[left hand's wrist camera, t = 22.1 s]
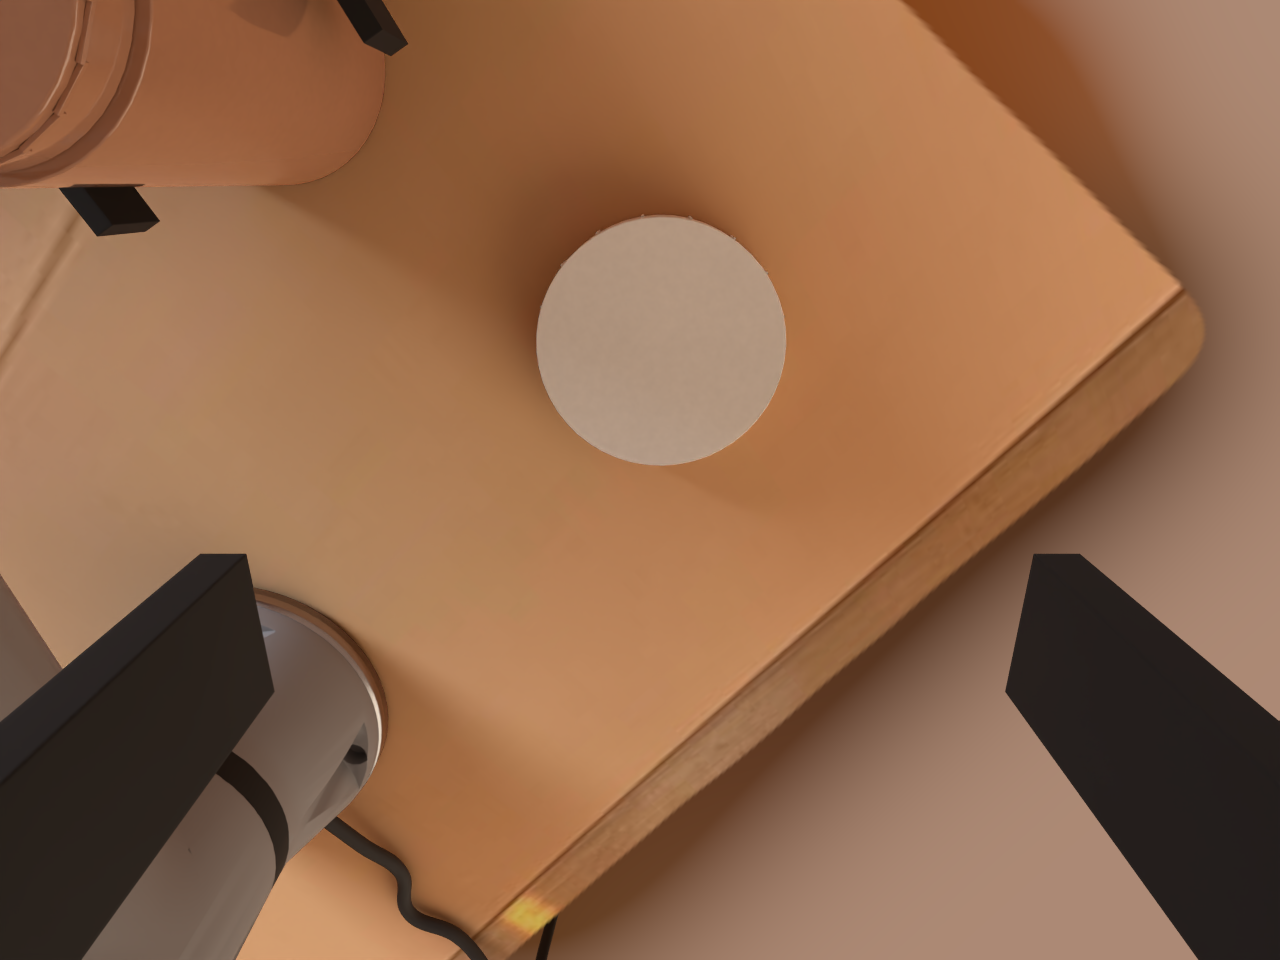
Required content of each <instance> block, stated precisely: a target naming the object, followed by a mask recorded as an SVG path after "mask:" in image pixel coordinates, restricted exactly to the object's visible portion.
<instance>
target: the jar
mask: <svg viewBox="0 0 1280 960" xmlns="http://www.w3.org/2000/svg"><path fill="white" fill-rule="evenodd" d="M384 85H385V57H384V53H383V52H381V51H379V50H377V49H375V48H373V47H371V46H369V45H366V44H364V43H363V41H362V40H361V38H360V36H359V35H358V33H357V32H356V30H355V28H354V27H353V25H352V24H351V22H350V20H349V19H348V17H347V16H346V14H345V12H344V11H343V9H342V8H341V6H340V4H339V3H338V1H337V0H0V188H81V187H167V186H254V185H297V184H302V183H307V182H312V181H314V180H317V179H320V178H323V177H325V176H327V175H329V174H331V173H333V172H335V171H336V170H338V169H339V168H340V167H342V166H343V165H344V164H346V163H347V162H348V161H349V160H350V159H351V158H352V157H353V156H354V155H355V154H356V153H357V152H358V151H359V150H360V148H361V147H362V146H363V144H364V143H365V142H366V140H367V139H368V137H369V135H370V133H371V131H372V129H373V127H374V125H375V123H376V120H377V117H378V114H379V112H380V108H381V104H382V99H383V95H384Z"/></svg>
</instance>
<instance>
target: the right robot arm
mask: <svg viewBox="0 0 1280 960" xmlns="http://www.w3.org/2000/svg"><path fill="white" fill-rule="evenodd" d="M337 1H338V3H339V4H340V6H341V8H342V9H343V11H344V12H345V14H346V16H347V17H348V19H349V20H350V22H351V24H352V25H353V27H354V28H355V30H356V32H357V33H358V35H359V36H360V38H361V40H362V41H363V43H364V44H366V45H369V46H371V47H373V48H375V49H377V50H379V51H381V52H383V53H385V54H387V55H390V56H392V55H393V54H395V53H396V52H397V51H399V50H400V49H402V48H403V47H404V46H406V45H407V44H408V43H407V41H406V39H405V38H404V36H403V34H402V33H401V31H400V30H399V28H398V26H397V25H396V23H395V21H394V20H393V18H392V16H391V15H390V13H389V11H388V10H387V8H386V6H385V5H384V3H383V2H382V0H337ZM59 189H60V190H61V192H62V193H63V194H64V195H65V197H66V198H67V199H68V200H69V202H70V203H71V204H72V205H73V207H74V208H75V209H76V210H77V212H78V213H79V214H80V215H81V217H82V218H83V219H84V220H85V222H86V223H87V224H88V225H89V227H90V228H91V229H92V231H93V232H94V233H95V234H96V236H106V235H116V234H126V233H136V232H145V231H147V230H148V229H150V228H151V227H152V226H154V225H155V224H157V223H158V222H159V221H160V220H159V219H158V218H157V217H156V215H155V214H154V213H153V211H152V210H151V209H150V207H149V206H148V205H147V203H146V202H145V201H144V200H143V198H142V197H141V196H140V194H139V193H138V192H137V190H136V189H135V188H134V187H81V188H59Z"/></svg>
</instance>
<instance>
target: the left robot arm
mask: <svg viewBox="0 0 1280 960" xmlns="http://www.w3.org/2000/svg"><path fill="white" fill-rule="evenodd" d="M1005 692H1006V693H1007V695H1008V696H1009V698H1010V699H1011V700H1012V702H1013V703H1014V704H1015V706H1016V707H1017V709H1018V710H1019V711H1020V713H1021V714H1022V716H1023V717H1024V718H1025V720H1026V721H1027V722H1028V724H1029V725H1030V727H1031V728H1032V729H1033V731H1034V732H1035V734H1036V735H1037V736H1038V738H1039V739H1040V740H1041V742H1042V743H1043V745H1044V746H1045V747H1046V749H1047V750H1048V752H1049V753H1050V754H1051V756H1052V757H1053V759H1054V760H1055V761H1056V763H1057V764H1058V766H1059V767H1060V768H1061V770H1062V771H1063V773H1064V774H1065V775H1066V777H1067V778H1068V779H1069V781H1070V782H1071V784H1072V785H1073V786H1074V788H1075V789H1076V790H1077V792H1078V793H1079V795H1080V796H1081V797H1082V799H1083V800H1084V802H1085V803H1086V804H1087V806H1088V807H1089V809H1090V810H1091V811H1092V813H1093V814H1094V815H1095V817H1096V818H1097V820H1098V821H1099V822H1100V824H1101V825H1102V827H1103V828H1104V829H1105V831H1106V832H1107V834H1108V835H1109V836H1110V838H1111V839H1112V840H1113V842H1114V843H1115V845H1116V846H1117V847H1118V849H1119V850H1120V851H1121V853H1122V854H1123V856H1124V857H1125V859H1126V860H1127V861H1128V863H1129V864H1130V865H1131V867H1132V868H1133V870H1134V871H1135V872H1136V874H1137V875H1138V877H1139V878H1140V879H1141V881H1142V882H1143V884H1144V885H1145V886H1146V888H1147V889H1148V890H1149V892H1150V893H1151V895H1152V896H1153V897H1154V899H1155V900H1156V902H1157V903H1158V904H1159V906H1160V907H1161V908H1162V910H1163V911H1164V913H1165V914H1166V915H1167V917H1168V918H1169V920H1170V921H1171V922H1172V924H1173V925H1174V927H1175V928H1176V929H1177V931H1178V932H1179V933H1180V935H1181V936H1182V938H1183V939H1184V940H1185V942H1186V943H1187V945H1188V946H1189V947H1190V949H1191V950H1192V951H1193V953H1194V954H1195V956H1196V957H1197V958H1198V960H1280V721H1278V720H1277V719H1276V718H1275V717H1273V716H1272V715H1271V714H1270V713H1269V712H1267V711H1266V710H1265V709H1264V708H1263V707H1261V706H1260V705H1259V704H1258V703H1257V702H1256V701H1254V700H1253V699H1252V698H1251V697H1250V696H1248V695H1247V694H1246V693H1245V692H1244V691H1242V690H1241V689H1240V688H1239V687H1238V686H1236V685H1235V684H1234V683H1233V682H1232V681H1231V680H1229V679H1228V678H1227V677H1226V676H1225V675H1223V674H1222V673H1221V672H1220V671H1219V670H1217V669H1216V668H1215V667H1214V666H1213V665H1211V664H1210V663H1209V662H1208V661H1207V660H1205V659H1204V658H1203V657H1202V656H1201V655H1199V654H1198V653H1197V652H1196V651H1195V650H1194V649H1192V648H1191V647H1190V646H1189V645H1188V644H1186V643H1185V642H1184V641H1183V640H1182V639H1180V638H1179V637H1178V636H1177V635H1176V634H1175V633H1173V632H1172V631H1171V630H1170V629H1169V628H1167V627H1166V626H1165V625H1164V624H1163V623H1161V622H1160V621H1159V620H1158V619H1157V618H1155V617H1154V616H1153V615H1152V614H1151V613H1150V612H1148V611H1147V610H1146V609H1145V608H1144V607H1142V606H1141V605H1140V604H1139V603H1138V602H1136V601H1135V600H1134V599H1133V598H1132V597H1130V596H1129V595H1128V594H1127V593H1126V592H1125V591H1123V590H1122V589H1121V588H1120V587H1119V586H1117V585H1116V584H1115V583H1114V582H1113V581H1111V580H1110V579H1109V578H1108V577H1107V576H1105V575H1104V574H1103V573H1102V572H1101V571H1099V570H1098V569H1097V568H1096V567H1095V566H1094V565H1092V564H1091V563H1090V562H1089V561H1088V560H1086V559H1085V558H1084V557H1083V556H1082V555H1080V554H1034V555H1033V560H1032V565H1031V570H1030V574H1029V579H1028V584H1027V589H1026V594H1025V599H1024V604H1023V608H1022V613H1021V618H1020V623H1019V628H1018V632H1017V637H1016V642H1015V647H1014V652H1013V657H1012V662H1011V666H1010V671H1009V676H1008V681H1007V686H1006V691H1005ZM387 730H388V709H387V702H386V698H385V694H384V691H383V688H382V684H381V682H380V680H379V678H378V675H377V673H376V671H375V669H374V668H373V666H372V664H371V663H370V661H369V660H368V658H367V657H366V655H365V654H364V653H363V651H362V650H361V649H360V648H359V646H358V645H357V644H356V643H355V642H354V641H353V640H352V639H351V638H350V637H349V636H348V635H347V634H346V633H345V632H344V631H343V630H342V629H341V628H339V627H338V626H337V625H336V624H334V623H333V622H332V621H330V620H329V619H328V618H326V617H325V616H323V615H322V614H320V613H319V612H317V611H315V610H313V609H312V608H310V607H308V606H306V605H304V604H302V603H300V602H298V601H296V600H293V599H291V598H288V597H286V596H283V595H280V594H277V593H274V592H270V591H267V590H262V589H257V588H253V584H252V579H251V574H250V570H249V565H248V560H247V555H246V554H200V555H198V556H197V557H196V558H195V559H194V560H192V561H191V562H190V563H189V564H188V565H186V566H185V567H184V568H183V569H182V570H181V571H179V572H178V573H177V574H176V575H175V576H173V577H172V578H171V579H170V580H169V581H167V582H166V583H165V584H164V585H163V586H161V587H160V588H159V589H158V590H157V591H155V592H154V593H153V594H152V595H151V596H150V597H148V598H147V599H146V600H145V601H144V602H142V603H141V604H140V605H139V606H138V607H136V608H135V609H134V610H133V611H132V612H130V613H129V614H128V615H127V616H126V617H125V618H123V619H122V620H121V621H120V622H119V623H117V624H116V625H115V626H114V627H113V628H111V629H110V630H109V631H108V632H107V633H105V634H104V635H103V636H102V637H101V638H100V639H98V640H97V641H96V642H95V643H94V644H92V645H91V646H90V647H89V648H88V649H86V650H85V651H84V652H83V653H82V654H80V655H79V656H78V657H77V658H76V659H74V660H73V661H72V662H71V663H70V664H69V665H67V666H66V667H65V668H64V669H62V667H61V666H60V665H59V663H58V662H57V660H56V658H55V657H54V655H53V654H52V652H51V651H50V649H49V648H48V646H47V645H46V643H45V642H44V640H43V639H42V637H41V636H40V634H39V633H38V631H37V630H36V628H35V626H34V625H33V623H32V622H31V620H30V619H29V617H28V616H27V614H26V613H25V611H24V610H23V608H22V607H21V605H20V604H19V602H18V601H17V599H16V597H15V596H14V594H13V593H12V591H11V590H10V588H9V587H8V585H7V584H6V582H5V581H4V579H3V578H2V576H1V575H0V960H236V958H237V956H238V954H239V952H240V950H241V948H242V946H243V944H244V942H245V940H246V938H247V936H248V934H249V932H250V930H251V928H252V927H253V925H254V923H255V921H256V919H257V917H258V915H259V913H260V911H261V909H262V907H263V905H264V903H265V901H266V899H267V897H268V895H269V893H270V891H271V889H272V888H273V886H274V884H275V882H276V880H277V878H278V876H279V875H280V873H281V871H282V870H283V868H284V866H285V864H286V863H287V862H288V861H289V860H290V859H291V858H292V857H293V856H294V855H295V854H297V853H298V852H299V851H300V850H301V849H302V848H303V847H304V846H305V845H306V844H307V843H308V842H309V841H310V840H312V839H313V838H314V837H315V836H316V835H317V834H318V833H319V832H320V831H321V830H322V829H323V828H325V829H327V830H328V831H329V832H331V833H332V834H333V835H335V836H336V837H337V838H339V839H340V840H342V841H343V842H344V843H346V844H347V845H348V846H350V847H351V848H353V849H354V850H355V851H357V852H358V853H360V854H361V855H363V856H365V857H366V858H368V859H370V860H372V861H374V862H376V863H378V864H379V865H381V866H383V867H385V868H386V869H387V870H389V871H390V872H391V873H392V874H393V875H394V876H395V878H396V880H397V883H398V892H397V904H398V908H399V911H400V913H401V914H402V916H403V917H404V918H405V920H407V921H408V922H409V923H410V924H411V925H413V926H415V927H416V928H419V929H421V930H424V931H427V932H430V933H433V934H437V935H440V936H442V937H445V938H447V939H449V940H451V941H452V942H454V943H455V944H456V945H457V946H459V947H460V948H461V949H462V950H463V951H464V952H465V953H466V954H467V955H468V957H469V958H470V959H471V960H488V959H487V958H486V956H485V955H484V954H483V952H482V951H481V949H480V948H479V947H478V946H477V944H476V943H475V942H474V941H473V940H472V939H471V938H470V937H469V936H468V935H467V934H466V933H465V932H463V931H462V930H461V929H460V928H458V927H456V926H455V925H453V924H451V923H448V922H445V921H442V920H439V919H436V918H433V917H430V916H427V915H424V914H422V913H421V912H419V911H418V910H416V909H415V908H414V906H413V905H412V902H411V876H410V873H409V871H408V869H407V868H406V866H405V865H404V864H403V863H402V861H401V860H400V859H398V858H397V857H396V856H395V855H393V854H392V853H390V852H388V851H387V850H385V849H383V848H381V847H379V846H377V845H376V844H374V843H372V842H371V841H369V840H368V839H366V838H365V837H364V836H362V835H361V834H359V833H358V832H357V831H355V830H354V829H353V828H351V827H350V826H349V825H347V824H346V823H345V822H343V821H342V820H341V819H339V818H338V817H337V815H338V814H339V813H340V812H341V811H342V810H344V809H345V808H346V807H347V806H348V805H349V804H350V803H351V802H352V800H353V799H354V798H355V797H356V795H357V794H358V793H359V791H360V790H361V789H362V788H363V786H364V785H365V784H366V782H367V781H368V779H369V777H370V775H371V774H372V772H373V769H374V767H375V765H376V763H377V761H378V759H379V757H380V754H381V752H382V750H383V747H384V744H385V740H386V736H387ZM558 914H559V912H558V913H557V914H556V915H555V916H553V918H552V919H550V920H549V921H548V922H547V923H546V924H545V926H544V929H543V933H542V936H541V940H540V944H539V947H538V951H537V955H536V960H547V957H548V953H549V949H550V945H551V941H552V937H553V934H554V930H555V926H556V922H557V918H558Z"/></svg>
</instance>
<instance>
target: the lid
mask: <svg viewBox="0 0 1280 960" xmlns="http://www.w3.org/2000/svg"><path fill="white" fill-rule="evenodd" d="M560 266H561V268H560V269H559V271H558V272H557V274H556V275H555V277H554V279H553V281H552V282H551V284H550V286H549V288H548V290H547V293H546V295H545V297H544V300H543V302H542V305H541V306H540V308H541V310H540V314H539V317H538V324H537V332H536V354H537V359H538V367H539V370H540V374H541V378H542V381H543V384H544V386H545V389H546V391H547V394H548V396H549V398H550V400H551V401H552V403H553V405H554V407H555V408H556V410H557V412H558V413H559V414H560V415H561V417H562V418H563V419H564V421H565V422H566V423H567V424H568V425H569V426H570V427H571V428H572V429H573V430H574V431H575V432H576V433H577V434H578V435H579V436H580V437H582V438H583V439H584V440H585V441H587V442H588V443H589V444H591V445H592V446H594V447H596V448H598V449H599V450H601V451H603V452H605V453H607V454H609V455H611V456H614V457H616V458H619V459H622V460H626V461H629V462H633V463H638V464H644V465H660V466H664V465H677V464H682V463H687V462H692V461H695V460H698V459H701V458H704V457H707V456H710V455H712V454H714V453H716V452H718V451H720V450H722V449H724V448H725V447H727V446H728V445H730V444H731V443H733V442H734V441H736V440H737V439H738V438H739V437H741V436H742V435H743V434H744V433H745V432H747V431H748V430H749V428H750V427H751V426H752V425H753V424H754V423H755V422H756V421H757V420H758V419H759V417H760V416H761V414H762V413H763V412H764V410H765V409H766V407H767V406H768V404H769V402H770V400H771V399H772V397H773V395H774V393H775V391H776V388H777V385H778V383H779V380H780V378H781V374H782V370H783V366H784V361H785V352H786V327H785V321H784V318H785V316H784V314H783V310H782V307H781V304H780V300H779V297H778V295H777V293H776V290H775V288H774V286H773V284H772V282H771V280H770V278H769V277H768V275H767V274H768V272H767V271H766V270H764V269H763V267H762V266H761V265H760V264H759V263H758V261H757V260H756V259H755V258H754V257H753V255H752V254H751V253H750V252H748V251H747V250H746V249H745V248H744V247H743V246H742V245H741V244H740V243H738V242H737V241H736V238H735V237H734V236H732V235H730V236H728V235H727V234H725V233H724V232H722V231H721V230H719V229H717V228H715V227H713V226H711V225H709V224H707V223H704V222H701V221H698V220H695V219H692V217H691V216H688V218H687V217H682V216H676V215H648V216H644V214H642V215H641V216H640V217H636V218H632V219H628V220H624V221H622V222H619V223H617V224H614V225H612V226H610V227H608V228H606V229H604V230H602V231H601V230H598V231H597V232H596V235H594V236H593V237H592V238H590V239H589V240H588V241H586V242H585V243H584V244H582V245H581V246H580V247H579V248H578V249H577V250H576V251H575V252H574V253H573V254H572V255H571V256H570V257H569V258H568V259H567V260H565V261H564V262H563V263H562V264H561V265H560Z"/></svg>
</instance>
